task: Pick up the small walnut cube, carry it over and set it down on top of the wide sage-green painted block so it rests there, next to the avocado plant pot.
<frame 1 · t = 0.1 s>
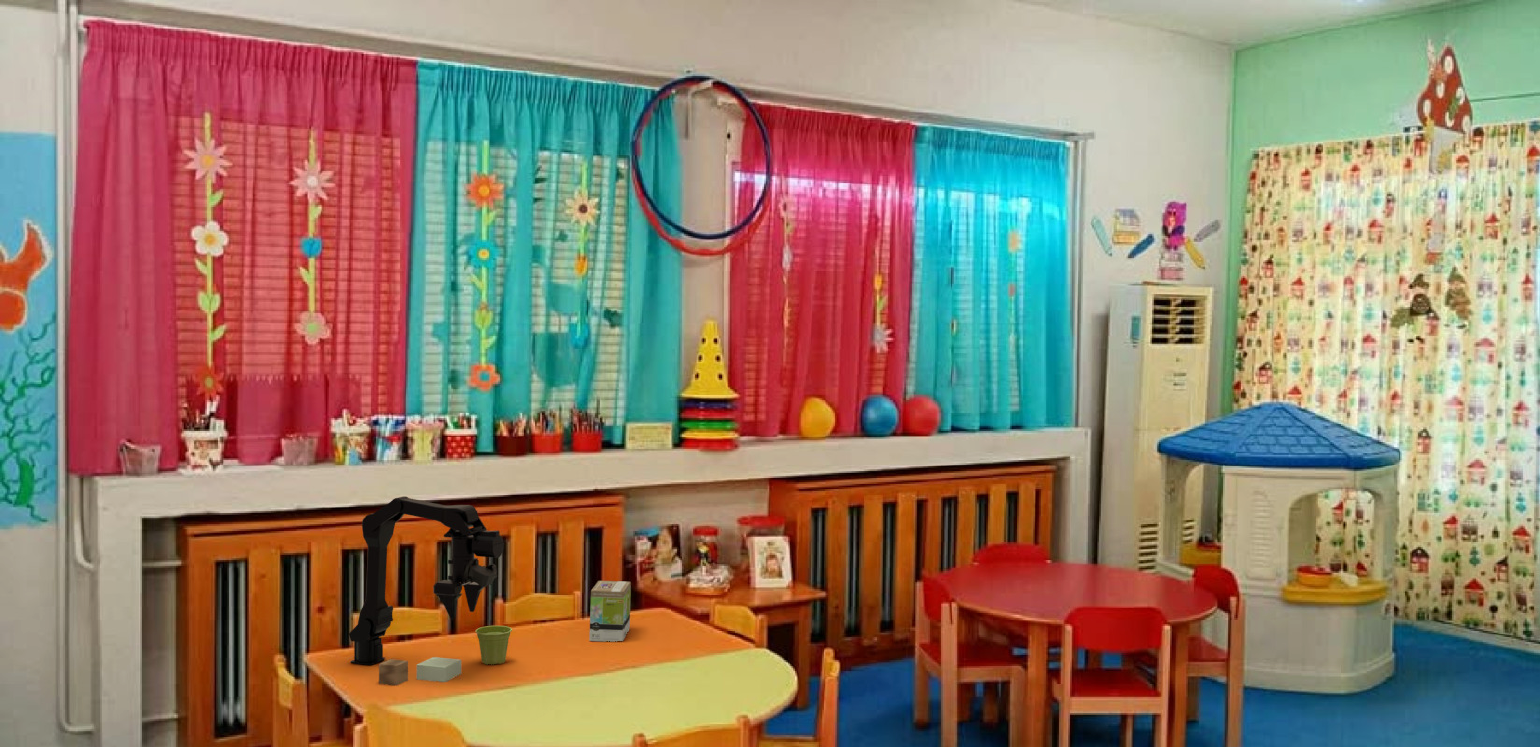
hand: (462, 615, 329), 15 cm above the table, tool pointing down, fingers open, 9 cm apart
plant pot: (493, 663, 339), on the table
sage block: (439, 677, 324), on the table
walnut cube: (393, 682, 319), on the table
tea box: (610, 636, 369), on the table
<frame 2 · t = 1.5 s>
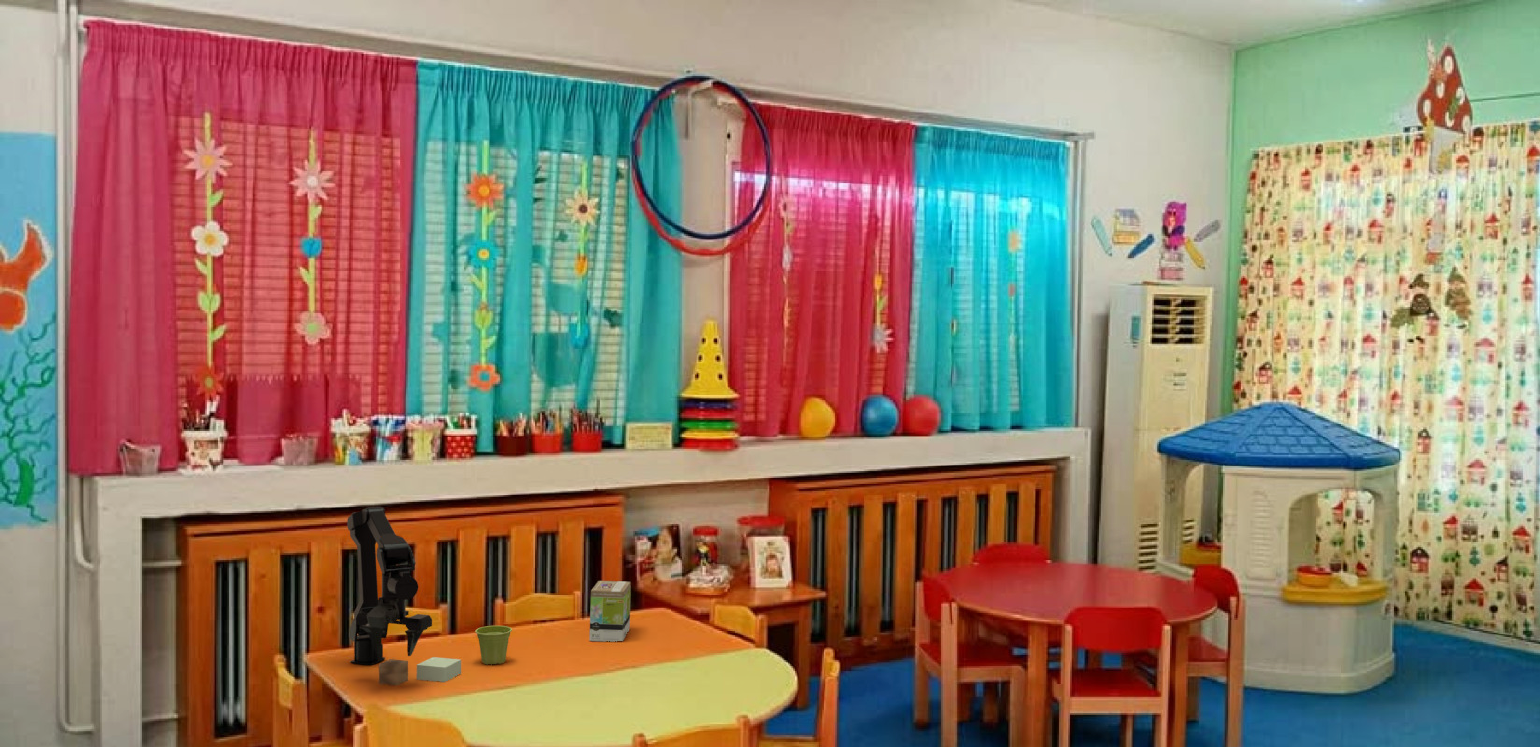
hand: (393, 654, 319), 7 cm above the table, tool pointing down, fingers open, 9 cm apart
nothing on the table moved.
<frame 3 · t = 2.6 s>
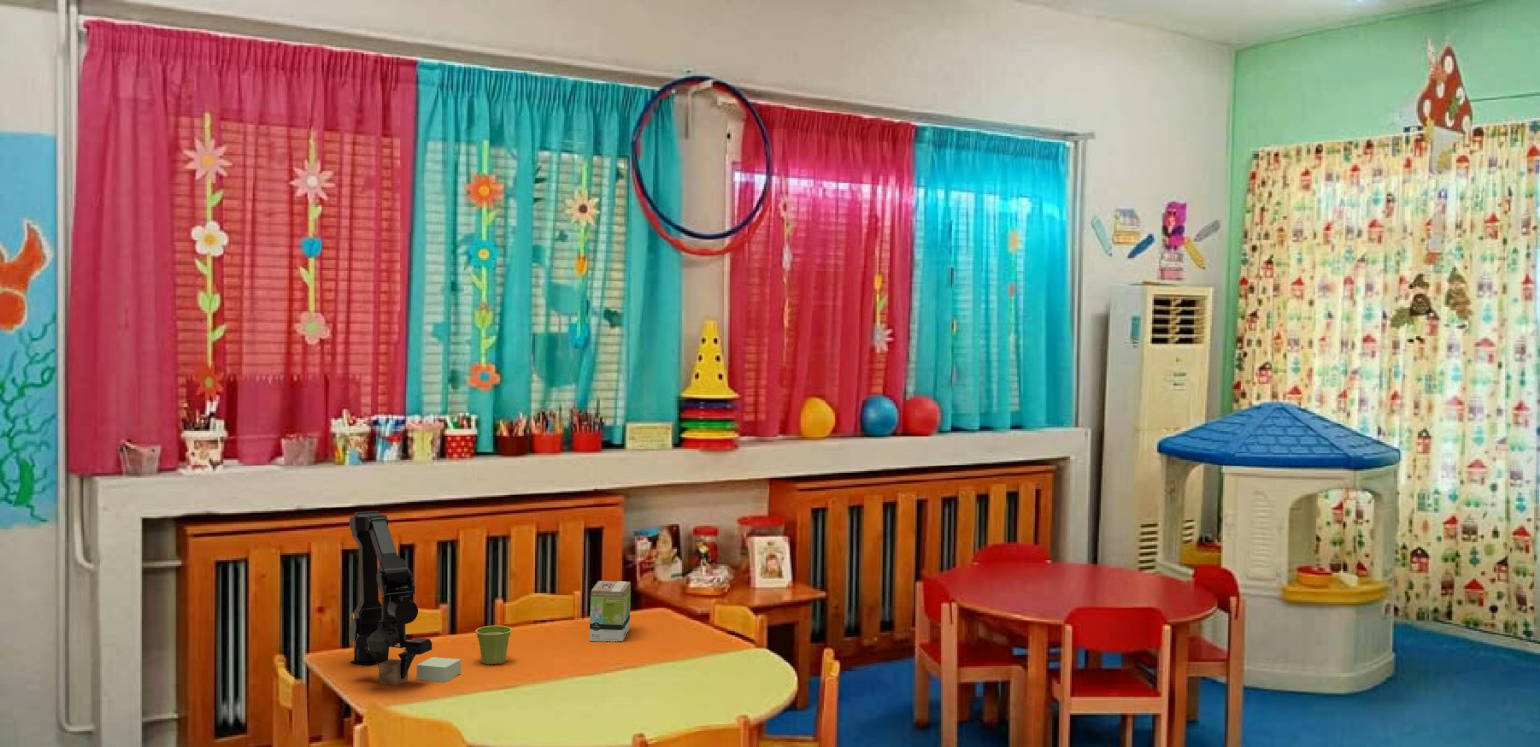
hand: (393, 677, 319), 1 cm above the table, tool pointing down, fingers closed on walnut cube, 5 cm apart
walnut cube: (393, 682, 319), on the table, touching gripper
everything else where it was.
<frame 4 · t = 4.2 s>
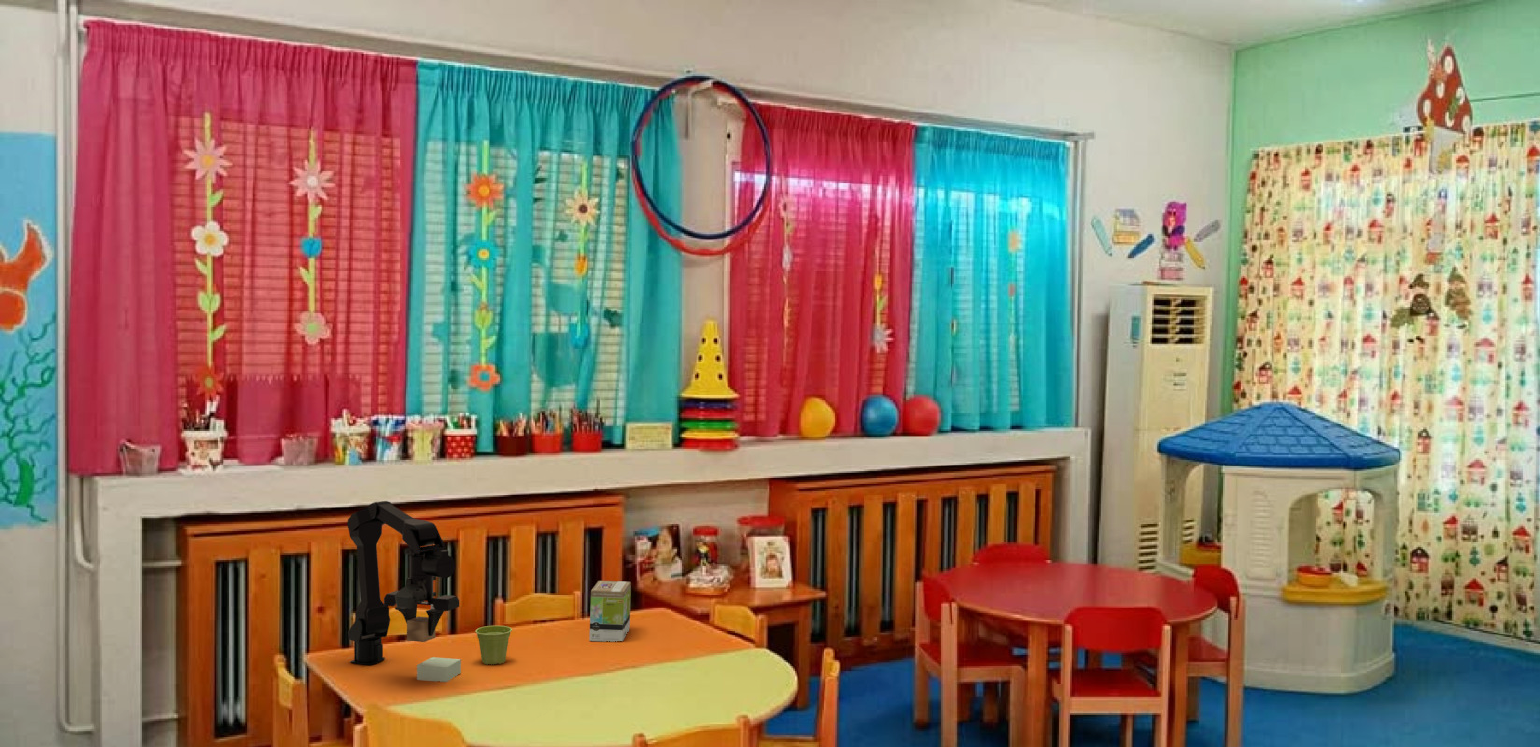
hand: (421, 635, 322), 11 cm above the table, tool pointing down, fingers closed on walnut cube, 5 cm apart
walnut cube: (421, 639, 322), point 10 cm above the table, touching gripper
everything else where it was.
when the fingers open (6 cm above the table, at t = 5.7 s): walnut cube drops 2 cm, point 4 cm above the table.
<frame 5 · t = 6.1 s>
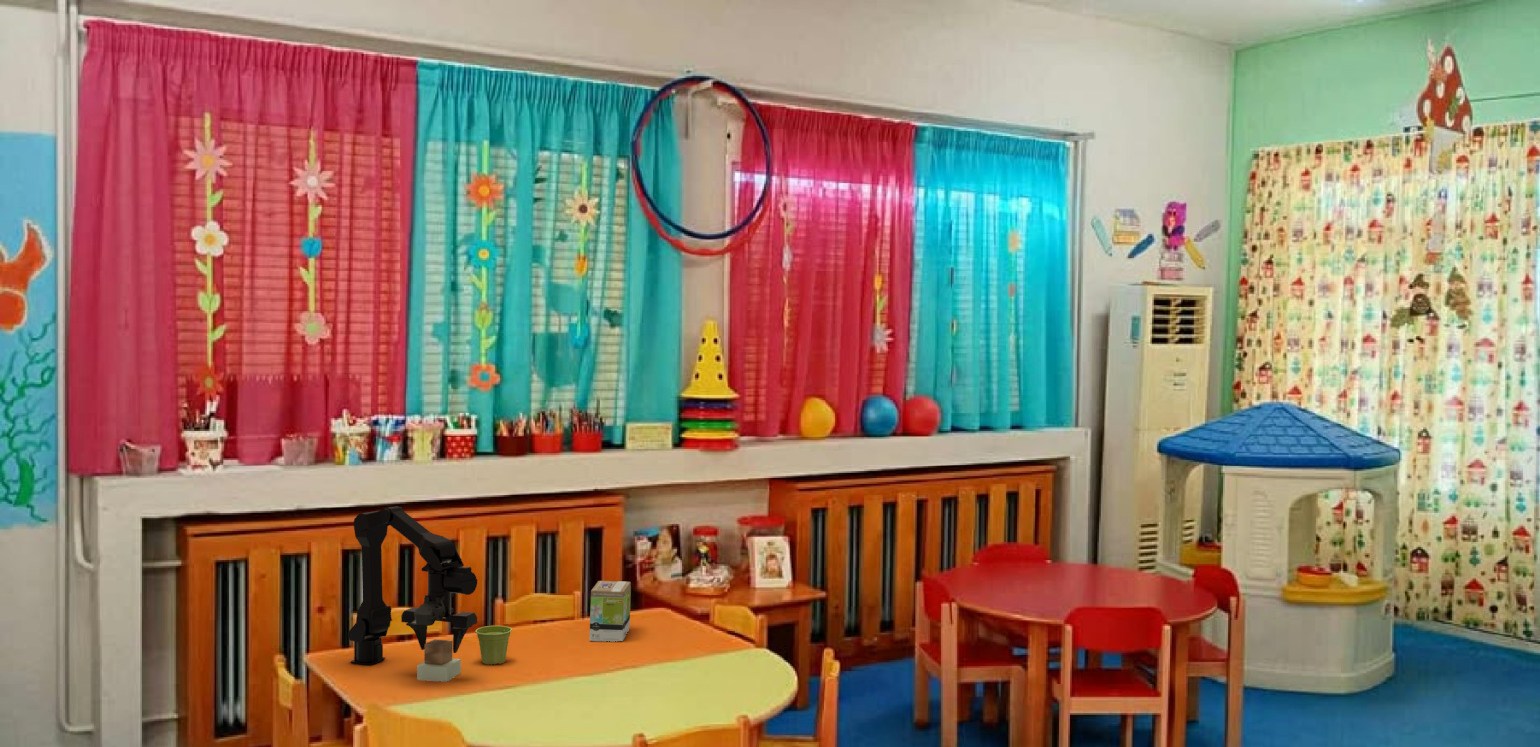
hand: (439, 651, 324), 6 cm above the table, tool pointing down, fingers open, 9 cm apart
walnut cube: (438, 661, 325), point 4 cm above the table
everything else where it was.
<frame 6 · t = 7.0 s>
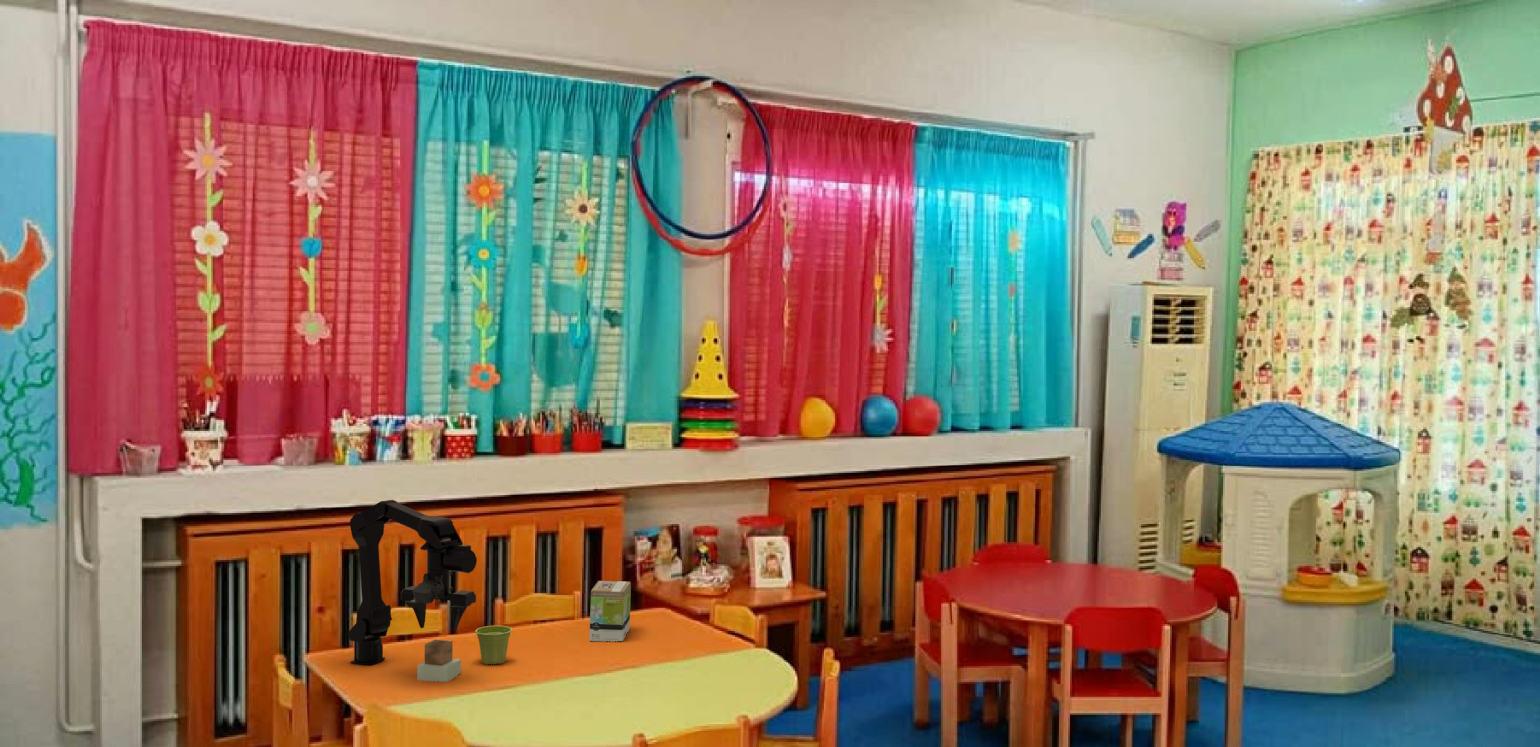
hand: (437, 629, 325), 12 cm above the table, tool pointing down, fingers open, 9 cm apart
nothing on the table moved.
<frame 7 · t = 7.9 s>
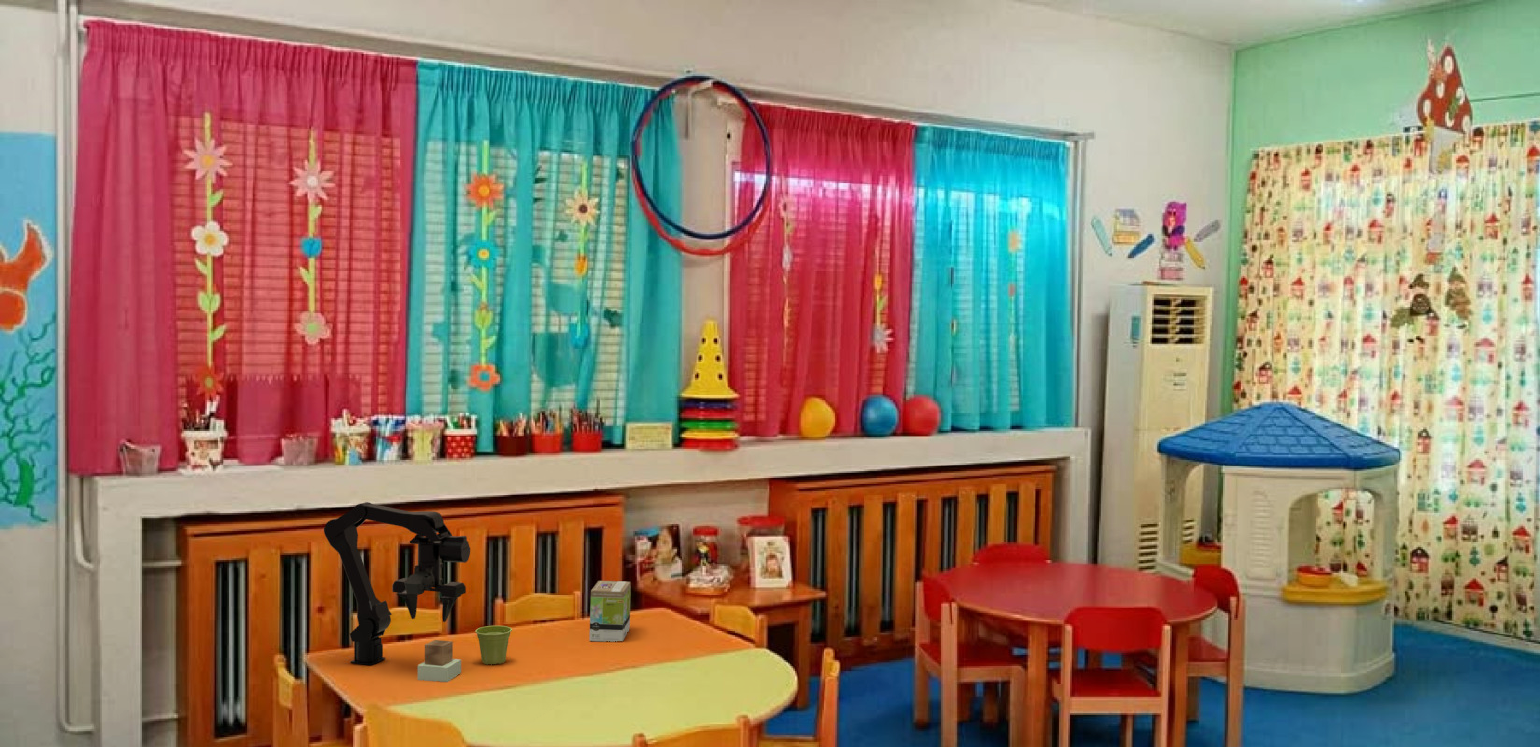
hand: (428, 620, 334), 12 cm above the table, tool pointing down, fingers open, 9 cm apart
sage block: (439, 678, 324), on the table, touching walnut cube
walnut cube: (438, 662, 324), point 4 cm above the table, touching sage block
everything else where it was.
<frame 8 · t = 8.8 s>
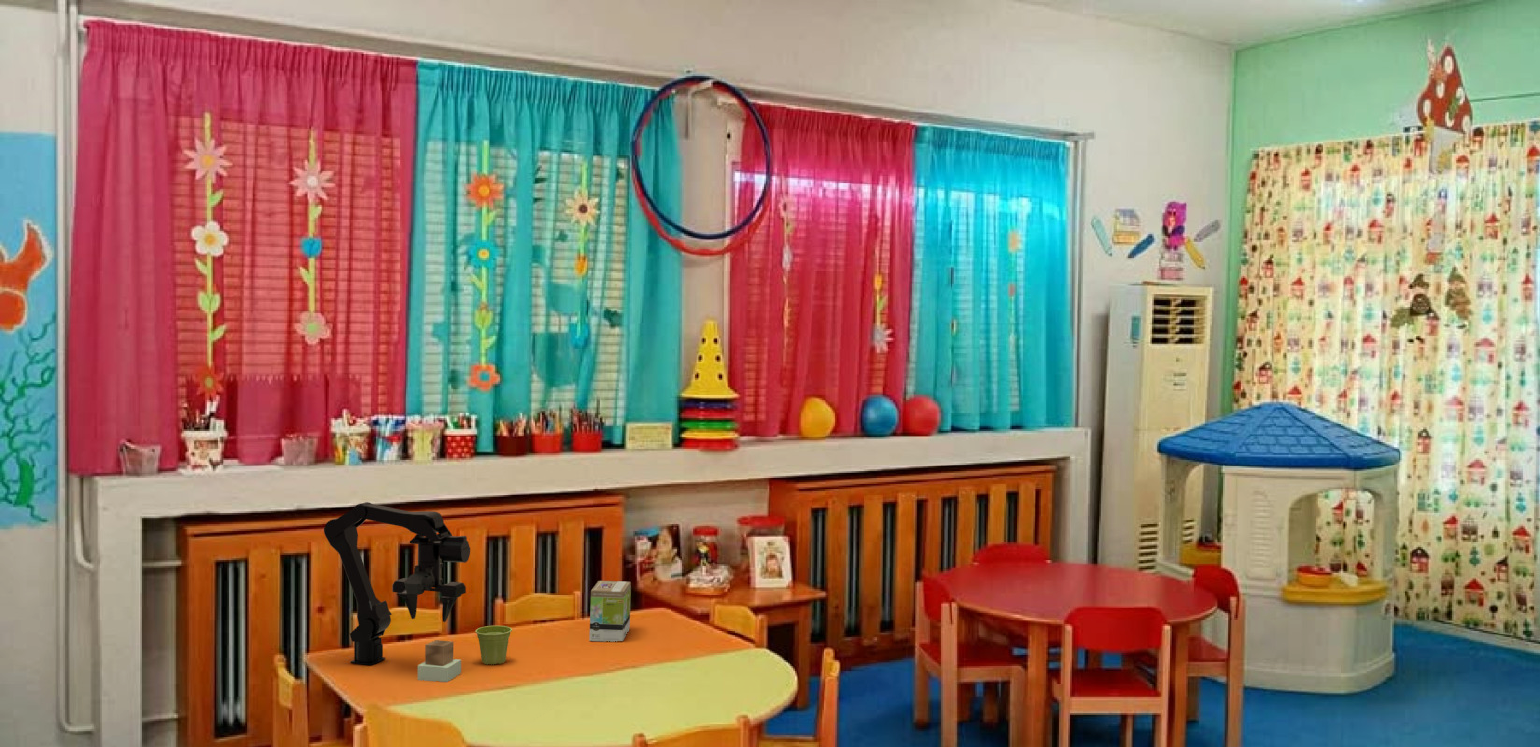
hand: (428, 620, 334), 12 cm above the table, tool pointing down, fingers open, 9 cm apart
nothing on the table moved.
at the end: walnut cube 0.1 cm off-centre on the sage block, point 4.0 cm above the sage block's base; walnut cube tilted 0°; the gripper is holding nothing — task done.
